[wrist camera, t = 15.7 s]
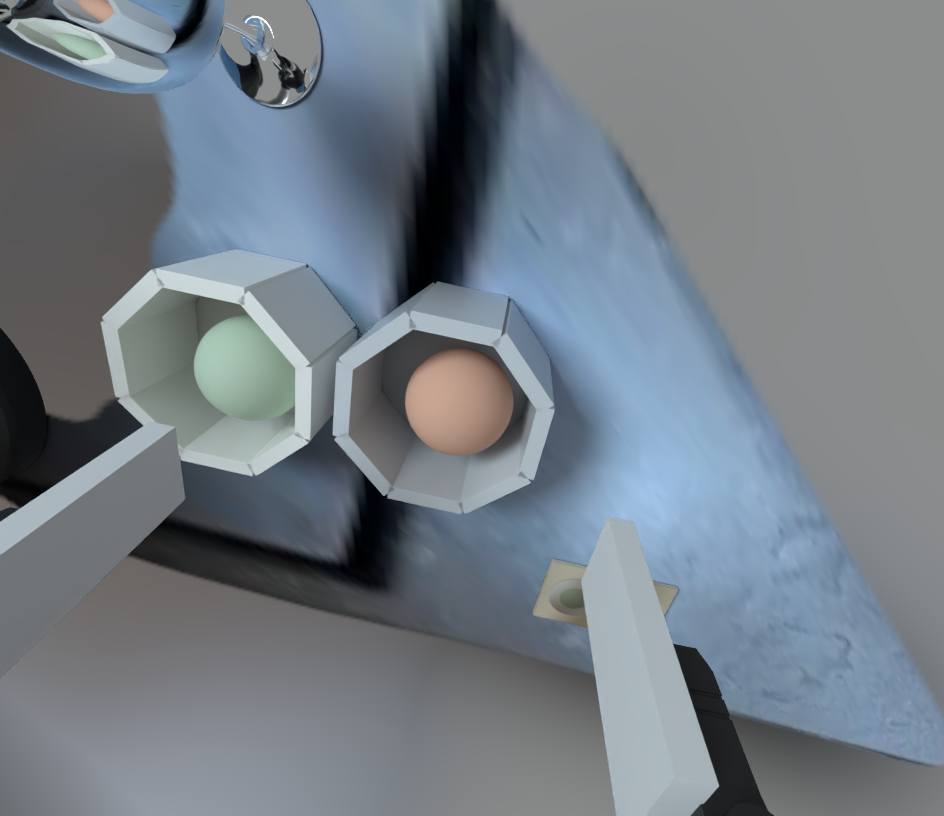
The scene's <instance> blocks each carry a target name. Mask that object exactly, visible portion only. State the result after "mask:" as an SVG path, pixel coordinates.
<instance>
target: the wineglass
mask: <svg viewBox="0 0 944 816" xmlns="http://www.w3.org/2000/svg"><path fill="white" fill-rule="evenodd" d="M217 50H218V54H219V57H220V59H221V62H222V64H223V66H224V68H225V70H226V72H227V74H228V75H229V77H230V78H231V80H232V81H233V82H234V84H235V85H236V86H237V87H238V88H239V89H240V90H241V91H242V92H243V93H244V94H245V95H247V96H248V97H249V98H251V99H252V100H254V101H256V102H258V103H260V104H262V105H266V106H269V107H286V106H289V105H293V104H295V103H296V102H298V101H299V100H301V99H303V97H304V96H305V95H306V94H307V93H308V92H309V91H310V90H311V88H312V86H313V84H314V83H315V81H316V78H317V75H318V72H319V69H320V63H321V38H320V32H319V28H318V24H317V21H316V19H315V16H314V14H313V12H312V10H311V7H310V5H309V4H308V2H307V1H306V0H0V51H2V52H4V53H6V54H8V55H10V56H12V57H15V58H17V59H20V60H22V61H24V62H27V63H29V64H31V65H33V66H36V67H38V68H41V69H43V70H46V71H48V72H51V73H54V74H56V75H58V76H61V77H64V78H66V79H69V80H72V81H75V82H79V83H83V84H86V85H90V86H93V87H97V88H100V89H105V90H110V91H116V92H123V93H157V92H163V91H168V90H171V89H174V88H177V87H180V86H182V85H185V84H186V83H188V82H190V81H191V80H193V79H194V78H195V77H197V76H198V75H199V74H200V73H201V72H202V71H203V70H204V69H205V68H206V67H207V66H208V64H209V63H210V61H211V60H212V58H213V57H214V55H215V53H216V51H217Z"/></svg>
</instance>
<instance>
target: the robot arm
mask: <svg viewBox="0 0 944 816" xmlns="http://www.w3.org/2000/svg"><path fill="white" fill-rule="evenodd" d="M46 432H47V421H46V413H45V407H44V404H43V400H42V397H41V393H40V391H39V388H38V386H37V383H36V381H35V379H34V377H33V375H32V373H31V371H30V369H29V367H28V365H27V364H26V362H25V360H24V359H23V357H22V356H21V354H20V353H19V351H18V350H17V349H16V347H15V346H14V344H13V343H12V342H11V340H10V339H9V338H8V336H7V335H6V334H5V333H4V332H3V330H2V329H1V328H0V483H1V482H3V481H5V480H7V479H9V478H10V477H12V476H14V475H16V474H17V473H19V472H21V471H23V470H24V469H26V468H27V467H29V466H30V465H31V464H32V463H33V462H34V461H35V460H36V459H37V458H38V456H39V455H40V453H41V451H42V449H43V446H44V443H45V439H46ZM184 500H185V492H184V485H183V478H182V470H181V463H180V456H179V448H178V441H177V434H176V427H174V426H169V425H164V424H159V423H154V422H149V423H147V424H146V425H144V426H143V427H141V428H140V429H138V430H137V431H135V432H134V433H133V434H131V435H130V436H128V437H127V438H125V439H124V440H122V441H121V442H119V443H118V444H116V445H115V446H113V447H112V448H110V449H109V450H107V451H106V452H104V453H103V454H101V455H100V456H98V457H97V458H95V459H94V460H92V461H91V462H89V463H88V464H86V465H85V466H83V467H82V468H80V469H79V470H77V471H76V472H74V473H73V474H71V475H70V476H68V477H67V478H65V479H64V480H62V481H61V482H59V483H58V484H56V485H55V486H53V487H52V488H50V489H49V490H47V491H46V492H44V493H43V494H41V495H40V496H38V497H37V498H35V499H34V500H32V501H31V502H29V503H28V504H26V505H25V506H23V507H22V508H20V509H16V508H11V507H10V508H7V509H5V510H2V511H0V678H1V677H2V676H3V675H4V674H5V673H6V672H7V671H8V670H10V669H11V668H12V667H13V666H14V665H15V664H16V663H17V662H18V661H19V660H20V659H21V658H22V657H23V656H24V655H25V654H26V653H27V652H28V651H29V650H30V649H31V648H32V647H33V646H34V645H35V644H36V643H37V642H38V641H39V640H41V639H42V638H43V637H44V635H46V634H47V633H48V632H49V631H50V630H51V629H52V628H53V627H54V626H55V625H56V624H57V623H58V622H59V621H60V620H61V619H62V618H63V617H64V616H65V615H66V614H67V613H68V612H69V611H70V610H71V609H72V608H74V607H75V606H76V605H77V604H78V603H79V602H80V600H82V599H83V598H84V597H85V596H86V595H87V594H88V593H89V592H90V591H91V590H92V589H93V588H94V587H95V586H96V585H97V584H98V583H99V582H100V581H101V580H102V579H103V578H104V577H106V576H107V575H108V574H109V573H110V572H111V571H112V570H113V569H114V568H115V567H116V566H117V565H118V564H119V563H120V562H121V561H122V560H123V559H124V558H125V557H126V556H127V555H128V554H129V553H130V552H131V551H132V550H133V549H134V548H135V547H136V546H138V545H139V544H140V543H141V542H142V541H143V540H144V539H145V538H146V537H147V536H148V535H149V534H150V533H151V532H152V531H153V530H154V529H155V528H156V527H157V526H158V525H159V524H160V523H161V522H162V521H163V520H164V519H165V518H166V517H167V516H168V515H169V514H171V513H172V512H173V511H174V510H175V509H176V508H177V507H178V506H179V505H180V504H181V503H182V502H183V501H184ZM581 584H582V591H583V598H584V604H585V611H586V618H587V624H588V631H589V638H590V644H591V651H592V658H593V664H594V671H595V678H596V684H597V691H598V697H599V704H600V711H601V718H602V724H603V731H604V738H605V744H606V751H607V758H608V764H609V771H610V777H611V784H612V791H613V798H614V804H615V811H616V816H774V815H772V814H771V813H770V812H769V811H768V810H767V808H766V806H765V804H764V802H763V799H762V797H761V795H760V793H759V790H758V787H757V785H756V782H755V779H754V777H753V774H752V772H751V769H750V766H749V764H748V762H747V759H746V756H745V754H744V751H743V748H742V746H741V744H740V741H739V738H738V736H737V733H736V730H735V728H734V725H733V723H732V720H730V719H729V712H728V710H727V707H726V705H725V702H724V700H722V698H721V696H722V694H721V692H720V689H719V686H718V684H717V681H716V679H715V676H714V674H713V671H712V670H711V668H710V667H709V666H708V664H707V663H706V661H705V660H704V659H703V657H702V656H701V655H700V653H699V652H698V651H697V649H696V648H691V647H686V646H681V645H676V644H673V643H672V640H671V637H670V633H669V630H668V627H667V624H666V621H665V618H664V615H663V612H662V609H661V606H660V603H659V600H658V597H657V594H656V590H655V587H654V584H653V581H652V578H651V575H650V572H649V569H648V566H647V563H646V560H645V557H644V554H643V551H642V547H641V544H640V541H639V538H638V535H637V532H636V529H635V526H634V523H633V522H630V521H626V520H621V519H616V518H611V517H608V518H607V521H606V523H605V525H604V528H603V530H602V532H601V535H600V537H599V540H598V542H597V544H596V547H595V549H594V552H593V554H592V556H591V559H590V561H589V564H588V566H587V568H586V571H585V573H584V575H583V578H582V580H581Z"/></svg>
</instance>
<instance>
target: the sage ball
mask: <svg viewBox="0 0 944 816" xmlns="http://www.w3.org/2000/svg"><path fill="white" fill-rule="evenodd" d="M194 373H195V379H196V382H197V384H198V386H199V388H200V390H201V392H202V394H203V395H204V397H205V398H206V399H207V400H208V401H209V402H210V403H211V404H212V405H213V406H214V407H215V408H217V409H218V410H220V411H221V412H223V413H225V414H227V415H229V416H232V417H235V418H238V419H242V420H250V421H259V420H266V419H271V418H274V417H277V416H279V415H282V414H284V413H285V412H287V411H288V410H290V409H291V408H293V407H294V406H295V368H294V366H293V365H292V364H291V363H290V362H289V361H288V359H287V358H286V357H285V356H284V355H283V354H282V352H281V351H280V350H279V349H278V348H277V347H276V345H275V344H274V343H273V342H272V341H271V340H270V338H269V337H268V336H267V335H266V334H265V333H264V331H263V330H262V329H261V328H260V327H259V326H258V324H257V323H256V322H255V321H254V320H253V319H252V317H251V316H250V315H239V316H234V317H231V318H228V319H226V320H224V321H221V322H219V323H218V324H217V325H215V326H214V327H212V328H211V329H210V330H209V331H208V332H207V333H206V334H205V336H204V337H203V338H202V340H201V341H200V343H199V345H198V347H197V350H196V353H195V358H194Z"/></svg>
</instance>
